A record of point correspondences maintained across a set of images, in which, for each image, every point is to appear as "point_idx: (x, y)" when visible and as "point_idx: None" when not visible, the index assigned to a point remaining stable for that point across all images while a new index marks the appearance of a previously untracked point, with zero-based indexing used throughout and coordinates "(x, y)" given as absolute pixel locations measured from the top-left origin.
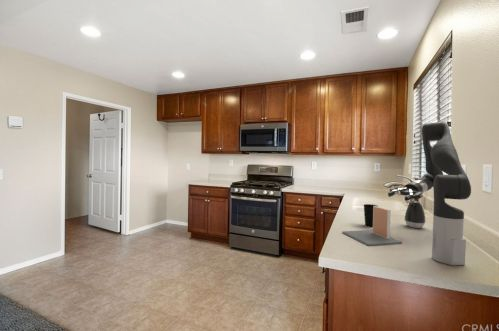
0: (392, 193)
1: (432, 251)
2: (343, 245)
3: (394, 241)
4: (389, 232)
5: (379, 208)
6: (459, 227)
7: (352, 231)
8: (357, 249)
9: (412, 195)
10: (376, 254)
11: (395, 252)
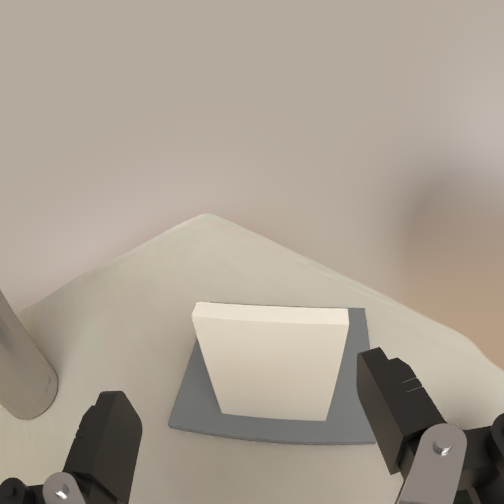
0: (383, 423)
1: (45, 360)
2: (245, 260)
3: (186, 400)
4: (217, 396)
5: (279, 309)
6: None
7: (360, 340)
8: (206, 270)
9: (55, 484)
10: (158, 285)
11: (136, 332)
